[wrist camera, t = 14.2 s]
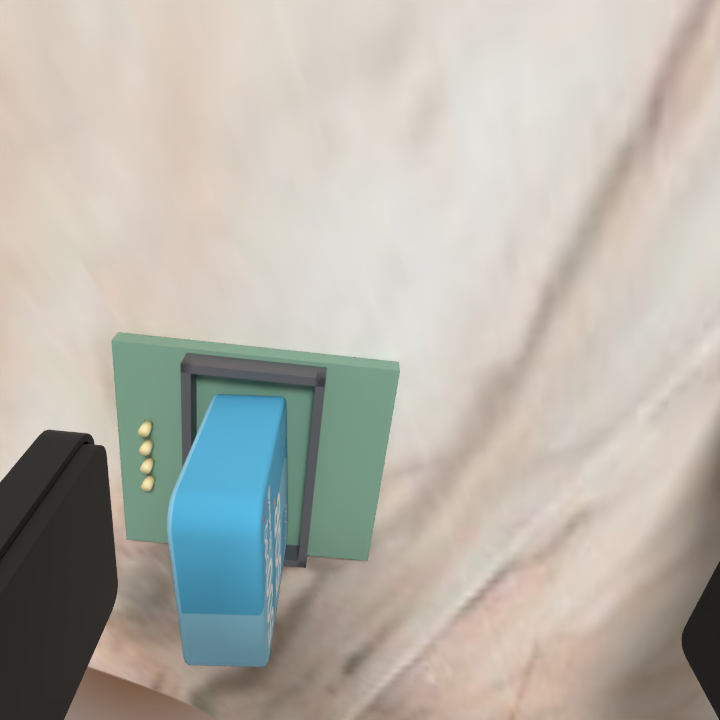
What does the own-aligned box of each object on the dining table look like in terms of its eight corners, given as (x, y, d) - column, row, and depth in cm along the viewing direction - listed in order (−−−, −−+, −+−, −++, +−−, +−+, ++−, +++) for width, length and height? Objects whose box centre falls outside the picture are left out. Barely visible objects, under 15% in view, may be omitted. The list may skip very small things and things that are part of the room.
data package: (288, 529, 44) (266, 681, 34) (227, 526, 44) (185, 678, 34) (287, 386, 39) (259, 513, 28) (216, 384, 39) (162, 510, 28)
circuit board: (398, 362, 39) (401, 382, 37) (367, 549, 47) (367, 575, 44) (118, 332, 38) (102, 351, 36) (132, 528, 46) (119, 554, 43)
